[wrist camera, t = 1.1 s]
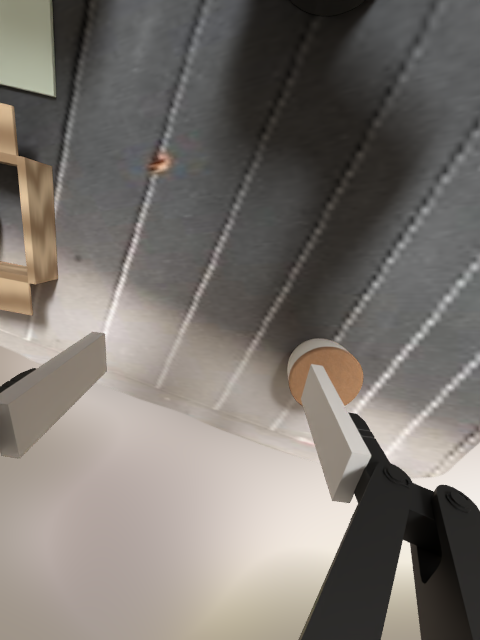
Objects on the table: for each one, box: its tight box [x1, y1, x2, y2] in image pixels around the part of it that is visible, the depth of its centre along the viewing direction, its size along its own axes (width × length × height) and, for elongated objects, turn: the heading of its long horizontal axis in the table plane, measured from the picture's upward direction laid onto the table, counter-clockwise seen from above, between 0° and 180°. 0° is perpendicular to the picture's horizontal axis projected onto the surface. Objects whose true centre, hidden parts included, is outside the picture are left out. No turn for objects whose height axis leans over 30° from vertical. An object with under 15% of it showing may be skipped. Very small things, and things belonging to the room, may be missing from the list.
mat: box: [0, 0, 56, 97], centre depth 29 cm, size 12×12×1 cm
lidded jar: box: [287, 338, 363, 406], centre depth 39 cm, size 11×11×9 cm
